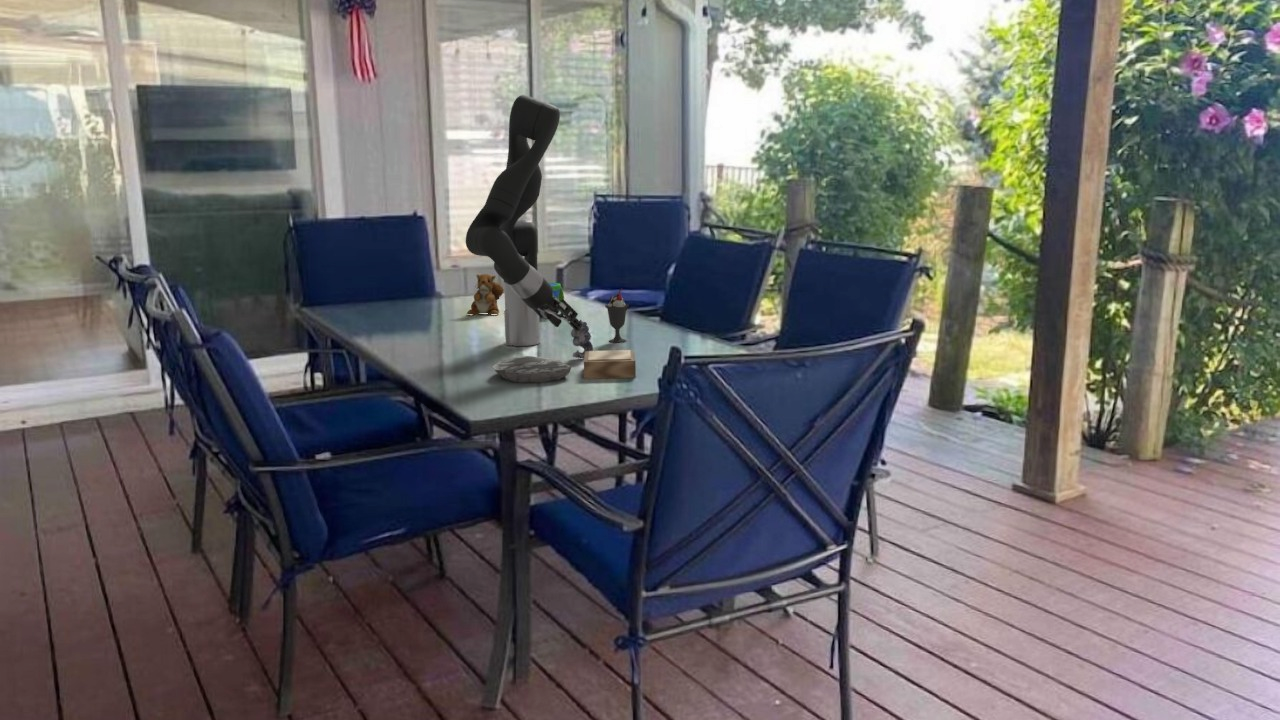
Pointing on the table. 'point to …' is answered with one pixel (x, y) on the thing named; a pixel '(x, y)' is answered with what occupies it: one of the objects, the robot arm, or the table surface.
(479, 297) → the stuffed squirrel
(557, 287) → the snack cup
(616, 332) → the sundae
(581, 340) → the grey figurine
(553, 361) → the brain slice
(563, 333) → the table surface
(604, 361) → the plinth
